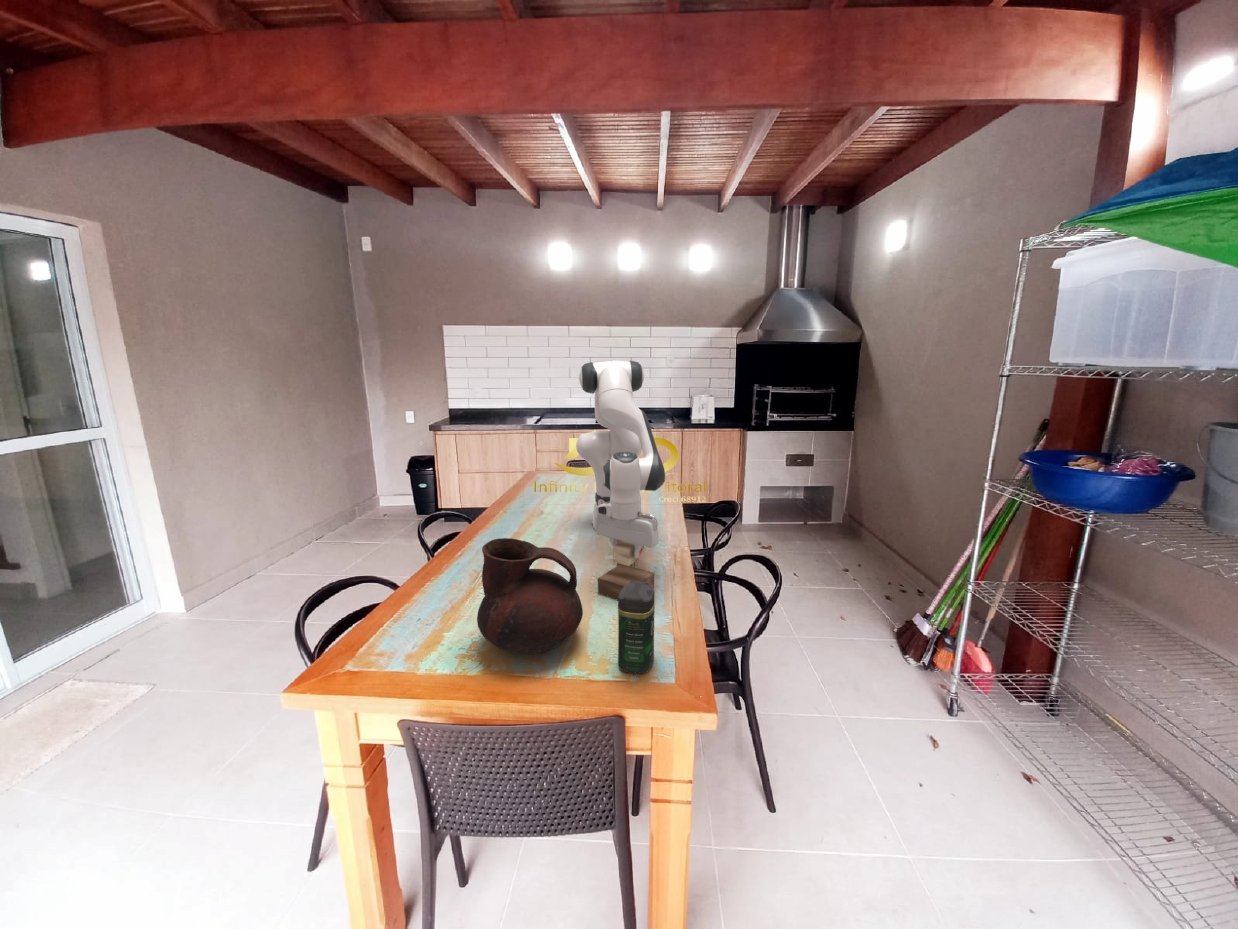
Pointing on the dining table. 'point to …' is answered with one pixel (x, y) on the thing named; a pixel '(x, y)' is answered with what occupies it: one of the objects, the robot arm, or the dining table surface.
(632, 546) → the beige wooden cube
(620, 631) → the coffee jar
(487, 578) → the jug
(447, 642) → the dining table surface
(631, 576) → the walnut block
